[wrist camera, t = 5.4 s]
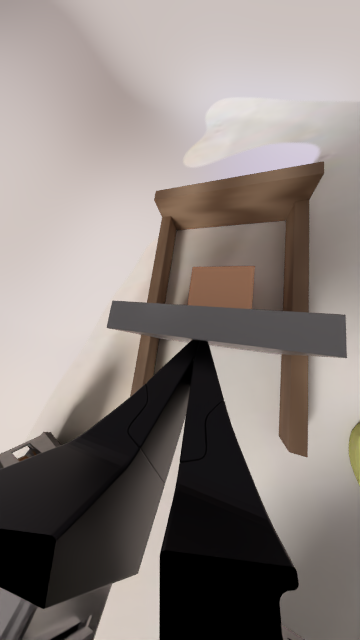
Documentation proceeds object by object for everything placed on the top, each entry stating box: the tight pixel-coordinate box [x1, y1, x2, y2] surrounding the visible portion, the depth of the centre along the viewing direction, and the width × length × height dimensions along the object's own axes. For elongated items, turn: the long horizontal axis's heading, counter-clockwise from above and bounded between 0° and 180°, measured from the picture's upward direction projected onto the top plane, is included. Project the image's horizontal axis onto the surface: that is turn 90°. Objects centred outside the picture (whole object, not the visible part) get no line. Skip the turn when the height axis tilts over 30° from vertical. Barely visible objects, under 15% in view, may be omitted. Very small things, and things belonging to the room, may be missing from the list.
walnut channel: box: [130, 162, 324, 457], centre depth 13 cm, size 13×20×4 cm, turn 172°
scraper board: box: [107, 301, 347, 358], centre depth 11 cm, size 10×2×8 cm, turn 82°
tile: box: [188, 266, 255, 309], centre depth 14 cm, size 5×5×3 cm
